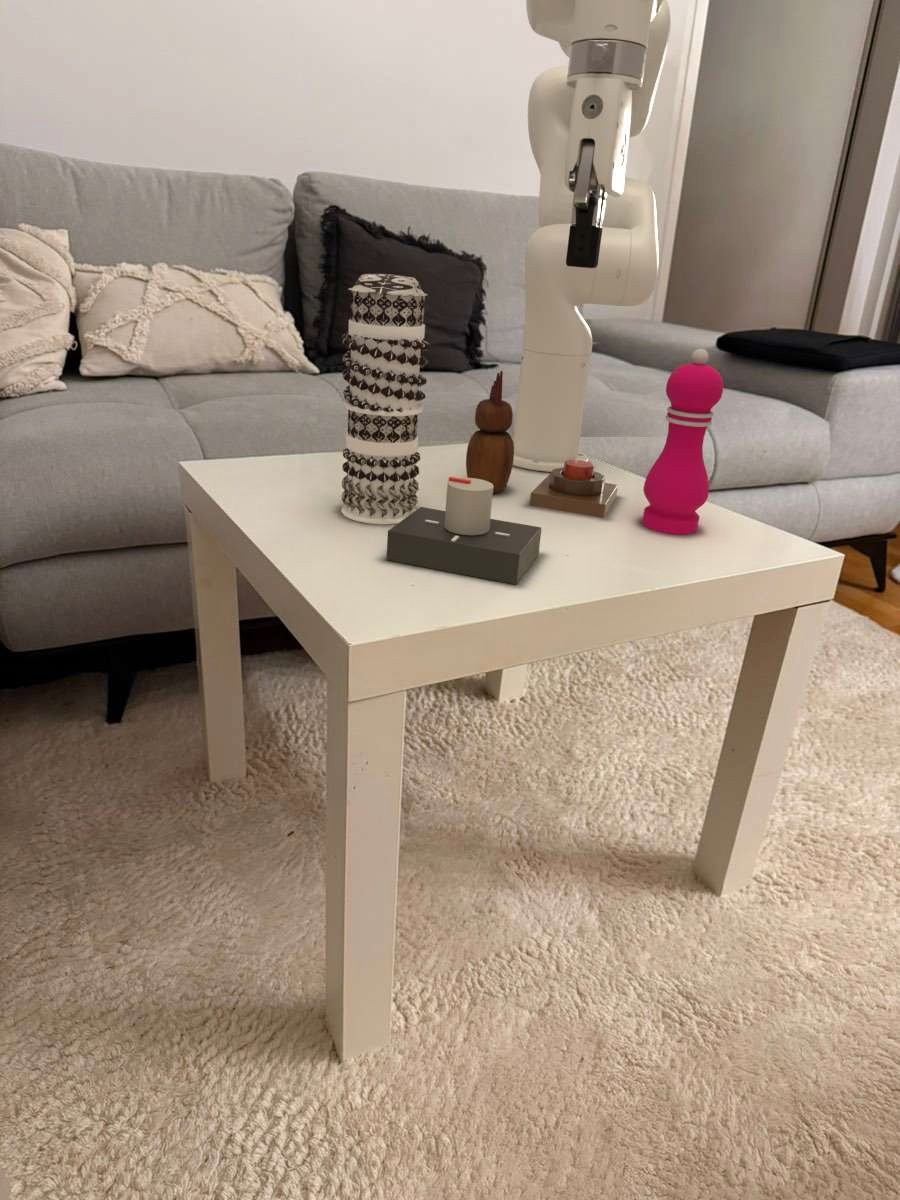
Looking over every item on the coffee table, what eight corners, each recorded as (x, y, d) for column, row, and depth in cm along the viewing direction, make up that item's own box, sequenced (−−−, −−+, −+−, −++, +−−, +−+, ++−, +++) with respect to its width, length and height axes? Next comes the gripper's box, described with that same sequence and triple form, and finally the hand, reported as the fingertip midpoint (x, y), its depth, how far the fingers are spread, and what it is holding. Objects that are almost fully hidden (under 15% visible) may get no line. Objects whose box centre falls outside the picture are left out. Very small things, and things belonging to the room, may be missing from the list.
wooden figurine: (505, 499, 104) (518, 374, 98) (459, 494, 105) (469, 369, 99) (513, 485, 110) (525, 367, 104) (469, 480, 111) (479, 362, 105)
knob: (494, 526, 84) (499, 479, 82) (481, 538, 80) (485, 489, 79) (453, 518, 86) (456, 472, 84) (437, 530, 82) (441, 482, 80)
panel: (418, 533, 90) (420, 505, 89) (538, 555, 86) (542, 525, 85) (386, 560, 82) (387, 529, 81) (516, 584, 78) (519, 552, 77)
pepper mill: (633, 529, 97) (663, 348, 89) (642, 513, 103) (671, 342, 95) (698, 541, 94) (734, 355, 87) (703, 523, 101) (738, 349, 93)
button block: (547, 486, 111) (550, 460, 110) (616, 497, 109) (620, 470, 107) (529, 506, 102) (532, 477, 101) (603, 518, 100) (607, 489, 98)
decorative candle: (361, 529, 90) (369, 277, 80) (324, 504, 97) (328, 270, 87) (435, 520, 94) (451, 281, 85) (394, 497, 101) (406, 274, 92)
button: (565, 471, 106) (567, 458, 106) (594, 476, 105) (596, 462, 105) (560, 478, 103) (561, 464, 102) (589, 482, 102) (591, 468, 101)
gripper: (633, 54, 77) (604, 270, 84) (652, 84, 90) (625, 269, 97) (553, 53, 79) (531, 264, 86) (582, 82, 92) (561, 264, 99)
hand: (581, 266), depth 92 cm, fingers closed
